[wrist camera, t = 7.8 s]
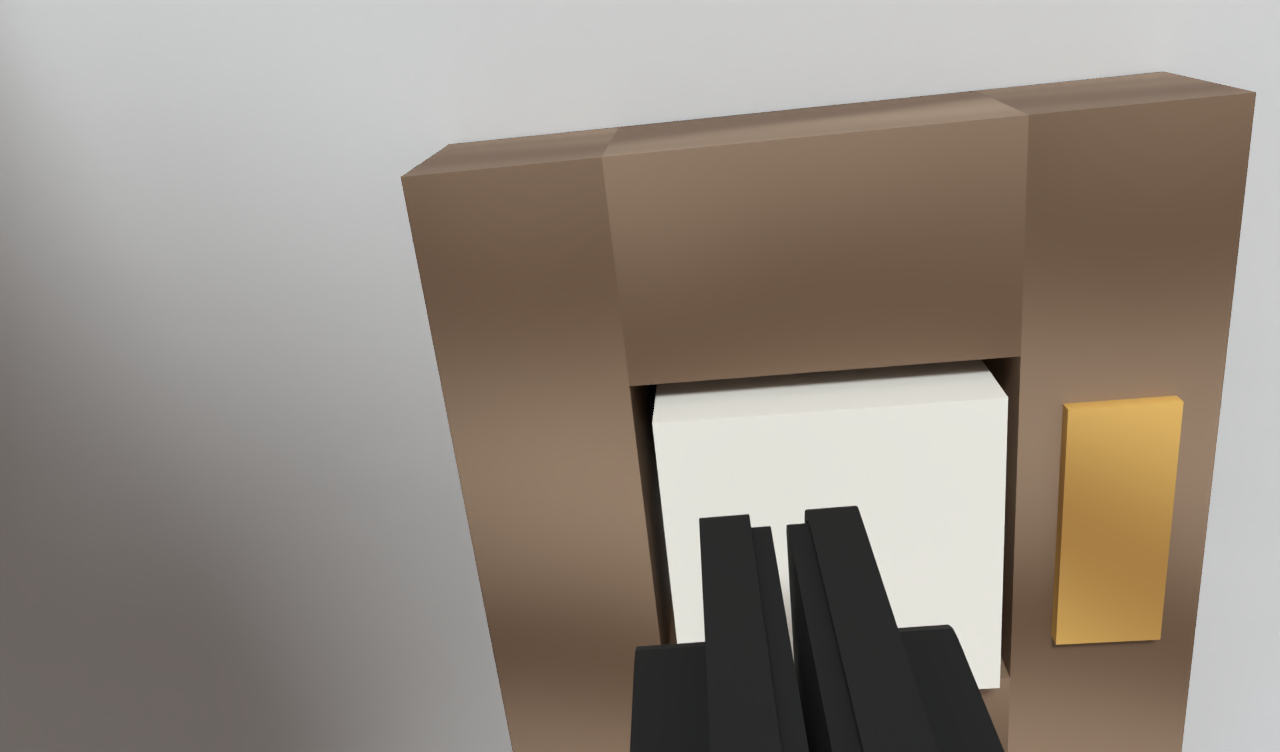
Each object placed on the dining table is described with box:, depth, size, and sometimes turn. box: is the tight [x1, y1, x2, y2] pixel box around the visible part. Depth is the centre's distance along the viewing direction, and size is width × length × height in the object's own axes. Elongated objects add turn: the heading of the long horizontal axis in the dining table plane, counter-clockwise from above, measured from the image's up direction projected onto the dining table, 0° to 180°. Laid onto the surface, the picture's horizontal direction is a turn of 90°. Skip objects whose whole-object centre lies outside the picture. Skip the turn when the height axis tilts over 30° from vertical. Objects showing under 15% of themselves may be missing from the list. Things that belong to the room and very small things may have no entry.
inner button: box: [652, 359, 1008, 689], centre depth 15 cm, size 4×4×2 cm
